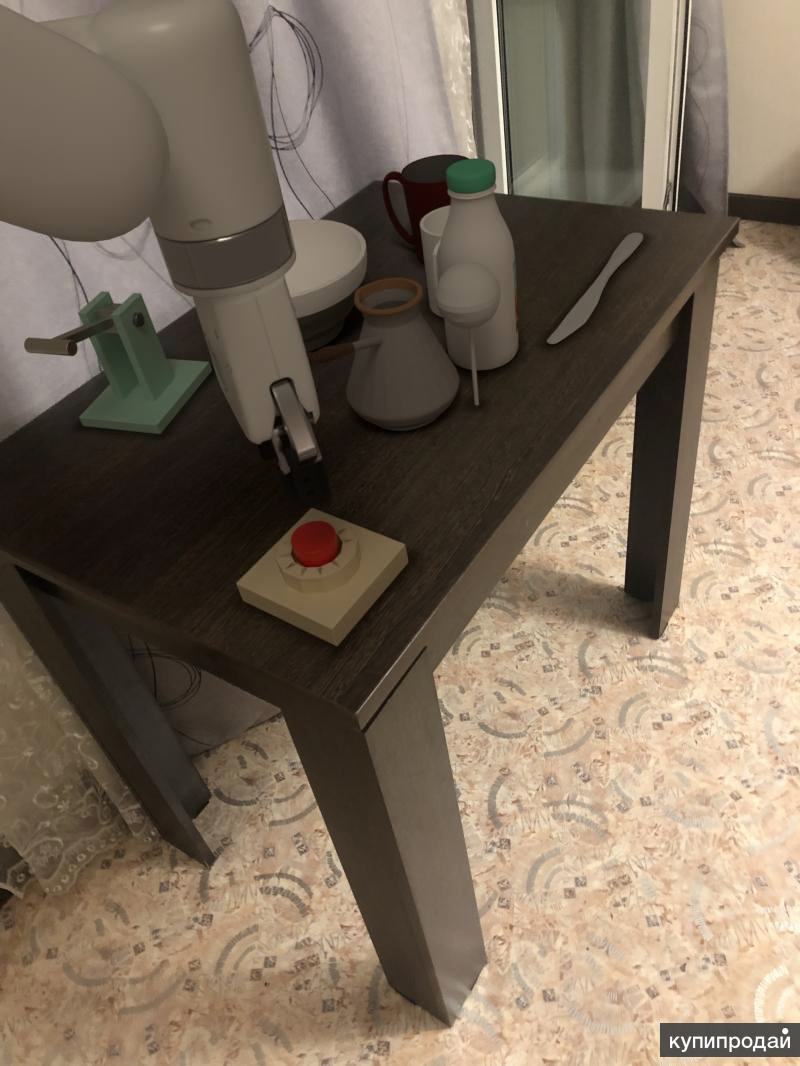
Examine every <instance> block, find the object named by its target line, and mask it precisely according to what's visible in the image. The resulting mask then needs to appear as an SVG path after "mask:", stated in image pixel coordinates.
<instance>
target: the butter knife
mask: <svg viewBox="0 0 800 1066" xmlns="http://www.w3.org/2000/svg"><path fill="white" fill-rule="evenodd" d="M643 241H644V235H643V233H641V232H632V233H630V234H627V235H626V236H625V237H624V239H622V241H621V242H620V243H619V244H618V246H617V247H616V248H615V250H614V251H613V253H612V255H611V257H610V258H609V260H608V262H607V264H605V266H604V267H603V269H602V271H601V272H600V273H599V275H598V276H597V277H596V279H595V280H594V282H593V283H592V284H591V285H590V286H589V288H588V289H587V290H586V291H585V293H584V294H583V295H582V296H581V297H580V298H579V300H577V302H576V303H575V305H574V306H573V307H572V308H571V310H570V311H569V312H568V313H567V315H566V316H564V319H563V320H562V321H561V323H560V324H559V325H558V327H557V328H556V329H555V330H554V331H553V332H552V333H551V335H550V336H549V337H548V338H547V340H546V343H548V344H549V345H555V344H558V343H559V342H561V341H563V340H564V339H566V338H567V337H569V336H570V335H571V334H573V333H574V332H575V331H577V330H578V329H580V328H581V327H582V326H583V325H585V323H586V322H587V321H588V320H589V318H590V317H591V316H592V313H593V312H594V310H595V309H596V307H597V305H598V304H599V301H600V298H601V295H602V293H603V291H604V288H605V287H606V286H607V283H608V281H609V280H610V277H611V276H612V275H613V274H614V273H615V272H616V270H617V269H618V268H619V267H620V266H621V265H622V264H623V263H624V262H625V261H626V260H627V259H628V258H629V257H630V256H631V255H632V254H633V253H634V251H636V250H637V249H638V247H639V246H640V244H641V243H642V242H643Z"/></svg>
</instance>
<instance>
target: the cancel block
mask: <svg viewBox="0 0 800 1066" xmlns="http://www.w3.org/2000/svg"><path fill="white" fill-rule="evenodd" d="M311 521H324V522H327V523H329V524H331V525H332V526H333V527H334V529H335V532H336V535H337V539H338V543H339V553H338V555H337V557H336V558H335V559H334V560H333V561H332V562H330V563H328V564H325V565H323V566H321V567H305V566H303V565H301V564H300V563H299V562H298V561H297V560H296V557H295V554H294V551H293V548H292V545H291V536H292V534H293V532H294V531H295V530H296V529H297V528H298V527H299V526H301V525H303V524H305V523H308V522H311ZM408 564H409V556H408V551H407V545H406V543H404V542H401V541H397V540H396V539H393V538H390V537H388V536H386V535H383V534H381V533H378V532H374V531H372V530H369V529H367V528H364V527H362V526H359V525H357V524H355V523H352V522H349V521H347V520H344V519H341V518H340V517H336V516H334V515H332V514H329V513H326V512H324V511H321V510H318V509H316V508H313V507H310V508H309V510H308V511H307V512H305V514H303V516H302V517H301V518H300V519H299V520H298V521H296V523H295V524H293V526H292V527H290V529H288V530H287V532H286V533H284V535H283V536H281V538H280V539H278V541H277V542H276V543H275V544H273V546H272V547H271V548H269V550H268V551H267V552H266V553H265V554H264V555H263V556H262V557H260V559H258V561H257V562H255V563H254V564H253V566H252V567H251V568H250V569H248V571H247V572H246V573H244V575H243V576H241V577H240V579H238V580H237V581H236V583H235V584H236V588H237V590H238V592H239V595H240V597H241V599H242V601H243V602H245V603H247V604H249V605H251V606H253V607H255V608H257V609H259V610H261V611H264V612H266V613H267V614H270V615H272V616H274V617H276V618H277V619H280V620H282V621H284V622H286V623H288V624H289V625H292V626H294V627H296V628H298V629H300V630H302V631H304V632H307V633H309V634H310V635H312V636H315V637H316V638H319V639H321V640H323V641H324V642H327V643H329V644H331V645H333V646H335V647H338V646H340V644H341V643H342V642H343V640H344V639H345V638H346V637H347V636H348V635H349V633H350V632H351V631H352V630H353V629H354V627H355V626H356V625H357V624H358V623H359V622H360V621H361V619H362V618H363V617H364V616H365V614H366V613H367V612H368V611H369V610H370V609H371V608H372V606H374V604H375V603H376V602H377V600H378V599H379V598H380V597H381V596H382V595H383V594H384V592H385V591H386V589H388V587H389V586H390V585H391V584H392V583H393V581H395V579H396V578H397V577H398V575H400V573H401V572H402V571H403V570H404V569H405V567H406V566H407V565H408Z"/></svg>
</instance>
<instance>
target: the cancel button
mask: <svg viewBox="0 0 800 1066" xmlns="http://www.w3.org/2000/svg"><path fill="white" fill-rule="evenodd" d="M291 545H292V548H293V551H294V554H295V557H296V560H297V561H298V562H299V563H300V564H301V565H303V566H305V567H321V566H323V565H325V564H328V563H330V562H332V561H333V560H334V559H335V558H336V557H337V555H338V553H339V543H338V539H337V535H336V532H335V529H334V527H333V526H332V525H331V524H329V523H327V522H324V521H311V522H308V523H305V524H303V525H301V526H299V527H298V528H297V529H296V530H295V531H294V532H293V534H292V536H291Z"/></svg>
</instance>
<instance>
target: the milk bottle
mask: <svg viewBox="0 0 800 1066" xmlns="http://www.w3.org/2000/svg"><path fill="white" fill-rule="evenodd" d="M496 169H497V168H496V164H495V163H494V162H493V161H492V160H490V159H486V158H480V157H479V158H476V157H475V158H469V159H466V160H462V161H458V162H456V163H454V164H452V165H451V166H449V167H448V169H447V172H446V180H447V186H448V194H449V195H450V196H451V205H450V211H449V216H448V219H447V222H446V225H445V228H444V231H443V234H442V237H441V242H440V248H439V267H440V278H441V277H442V276H443V274H444V273H445V272H446V271H447V270H448V269H449V268H451V267H452V266H454V265H456V264H459V263H462V262H475V263H479V264H481V265H483V266H485V267H487V268H488V269H489V270H490V271H491V272H492V273H493V274H494V276H495V277H496V279H497V281H498V283H499V285H500V291H501V295H500V302H499V305H498V308H497V310H496V312H495V314H494V315H493V317H492V318H491V319H490V320H489V321H488V322H486V323H485V324H483V325H482V326H479V327H477V328H473V334H474V347H475V359H476V371H487V370H494V369H497V368H500V367H503V366H504V365H506V364H507V363H510V362H511V360H513V359H514V357H516V355H517V352H518V350H519V315H518V313H519V312H518V289H517V288H518V286H517V265H516V254H515V246H514V241H513V238H512V234H511V231H510V228H509V227H508V225H507V223H506V221H505V219H504V217H503V216H502V214H501V212H500V209H499V206H498V203H497V200H496V196H495V191H496V190H497V183H496V181H497V171H496ZM443 320H444V330H445V331H444V332H445V339H446V347H447V355H448V356H449V358H450V360H451V361H452V363H453V364H454V365H455V366H458V367H459V368H463V369H465V370H470V371H472V368H471V356H470V345H469V333H468V329H462V328H458V327H455V326H453V325H451V324H450V323H449V322H447V321H446V320H445V319H444V318H443Z"/></svg>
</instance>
